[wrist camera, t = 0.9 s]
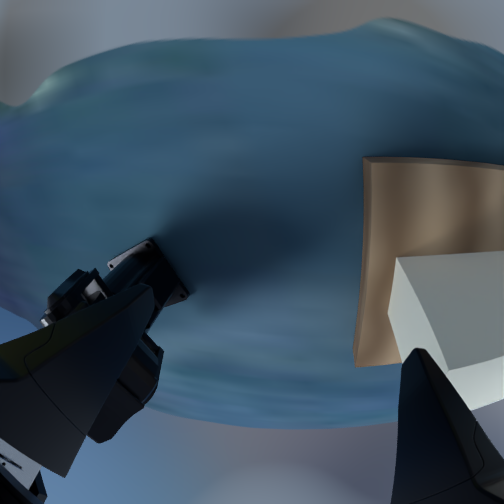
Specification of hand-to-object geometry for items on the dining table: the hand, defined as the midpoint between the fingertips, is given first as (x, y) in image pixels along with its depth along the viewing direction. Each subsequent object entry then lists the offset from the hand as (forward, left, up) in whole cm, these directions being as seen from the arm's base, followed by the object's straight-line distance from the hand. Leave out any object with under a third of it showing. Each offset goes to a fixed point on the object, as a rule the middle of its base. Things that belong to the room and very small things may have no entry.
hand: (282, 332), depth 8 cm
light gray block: (+11, -10, -10) cm, 18 cm away
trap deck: (+15, -12, -13) cm, 23 cm away
